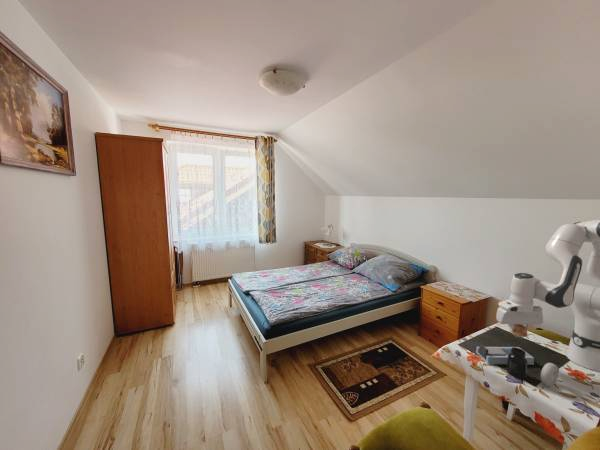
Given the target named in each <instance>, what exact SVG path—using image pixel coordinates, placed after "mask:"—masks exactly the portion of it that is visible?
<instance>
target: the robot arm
mask: <svg viewBox="0 0 600 450" xmlns="http://www.w3.org/2000/svg"><path fill="white" fill-rule="evenodd" d="M584 243H591V244H592V250H591V253H590V255H589V259H588V262H587V266H586V268H585V269H586V270H585V272H586V274H587V275H588V276H589V277H591V278H592V279H594V280H596V281H597V282H599V283H600V219H592V220H585V221H577V222H574V223H565V224H562V225H561V226H559V227H558V228H557V229H556V230H555V231H554V233H553V234H552V236H551V237H550V238H549V240H548V242H547V243H546V245H545V249H544V250H545V253H546V255H547V256H549V258H551V259H552V260H554V261H555V262H557V263H558V264H560V265H562V267H563V270H562V274H561V276H560V280H559V282H558V283H557V284H554V283H552V282H548V281H545V280H541V279H540V278H539V279H538V278H537V277H535V276H534V275H533V274H531V273H527V272H526V273H525V272H517V273H515V274H513V276H512V279H511V283H510V296H509V298H508V299H505V300H502V301H499V302H498V303H497V304H498V306H499V307H498V308H497V310H496V315H495V317H496V321H497V322H499V323H500V324H502V325H507V326H508V327H509V329H508V331H509V332H510V331H511V332H515V328H513V326H514V324H522V325H524V326H526V327H527V331H528V330H529V328H530V327H531V326H532V325H539V326H540V325H542V324H543V323H544V322H543V321H544V318H543V317H544V315H543V308H542V306H540V305H534V302H535V301H534V299H536V300H539V301H540V302H544V303H546V304H547V305H550V306H553V307H554V308H558V309H559V308H562V309H563V308H567V307H569V308H570V309H571V311H572V313H573V317H574V329H573V330H572V332H571V334H572V335H571V338H570V341H569V344H568V347H566V350H565V351H566V352H565V353H566V354H565V357H566V358H567V359H569V360H570V361H571V362H573V363H574V364H576V365H579V366H580V367H583V368H586V369H589V370H591V371H595V372H598V373H600V315H599V314H598V313H597V311H598V312H600V287H599V286H594V285H590V284H585V283H580V282H578V281H579V278H580V274H581V272H582V267H583V259H582V258H581V257H579V253H580V250H581V248H582V247H583V246H584V245H583V244H584ZM511 332H510V333H511Z"/></svg>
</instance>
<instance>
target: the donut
mask: <svg viewBox="0 0 600 450" xmlns="http://www.w3.org/2000/svg"><path fill="white" fill-rule="evenodd" d="M559 375H560V370H559V367H558V366H557V365H556V364H554V363H552V362H547V363H545V364H544V366H543V367H542V369H541V371H540V381H541V383H542V384H543V385H545V386H548V387H551V386H552V387H553V386H554V385H555V384H556V383H557V381H558V378H559Z"/></svg>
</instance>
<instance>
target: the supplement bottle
mask: <svg viewBox="0 0 600 450" xmlns="http://www.w3.org/2000/svg"><path fill="white" fill-rule="evenodd" d="M512 347H513V348H512V349H511V352H510V353H509V354H508V361H507V364H506V372H507V374H509V375H510V376H511V377H514V378H517V379H520V380H525V379H526V378H527V371H528V365H527V363H528V361H527V359H526V357H525V352H526V351H525V350H524V351H523V349H522V348H521V349H519V348H515V347H516V346H512Z"/></svg>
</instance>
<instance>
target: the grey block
mask: <svg viewBox="0 0 600 450" xmlns="http://www.w3.org/2000/svg"><path fill="white" fill-rule="evenodd" d="M478 347H479V354H480V355H482V356H483V357H484V358H485V359H486V356H506V353H505V352H504V351H502V350H501V349H500V348H485V347H486V346H484V345H483V344H479V346H478Z"/></svg>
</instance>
